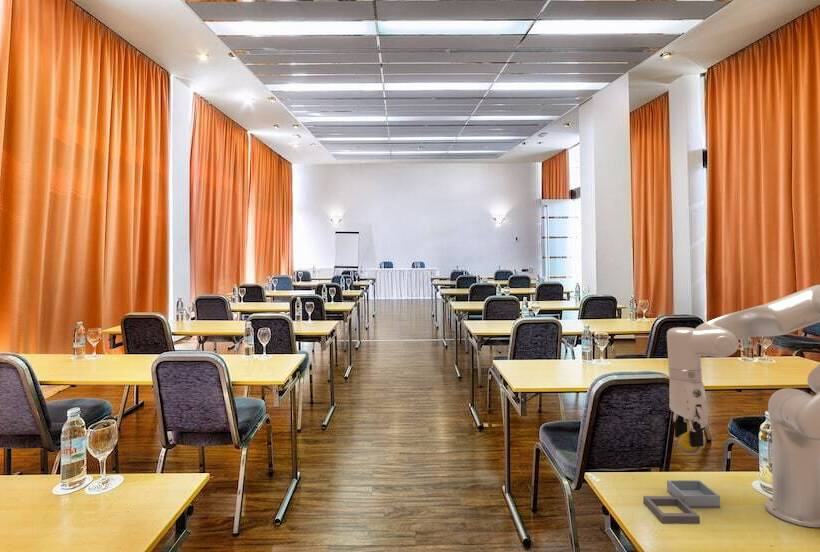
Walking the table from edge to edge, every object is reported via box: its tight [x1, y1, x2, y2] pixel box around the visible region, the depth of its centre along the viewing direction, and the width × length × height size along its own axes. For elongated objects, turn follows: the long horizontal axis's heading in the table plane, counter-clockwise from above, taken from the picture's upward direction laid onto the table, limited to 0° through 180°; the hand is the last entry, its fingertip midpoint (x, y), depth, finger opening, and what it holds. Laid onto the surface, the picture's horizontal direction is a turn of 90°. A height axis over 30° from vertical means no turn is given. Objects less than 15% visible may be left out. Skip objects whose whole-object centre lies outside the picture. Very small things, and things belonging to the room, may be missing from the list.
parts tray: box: [666, 479, 721, 509], centre depth 124 cm, size 9×9×3 cm
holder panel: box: [643, 495, 701, 525], centre depth 118 cm, size 9×10×2 cm
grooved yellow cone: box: [676, 431, 701, 455], centre depth 121 cm, size 5×5×10 cm
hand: (688, 440), depth 122 cm, fingers closed on grooved yellow cone, 6 cm apart
